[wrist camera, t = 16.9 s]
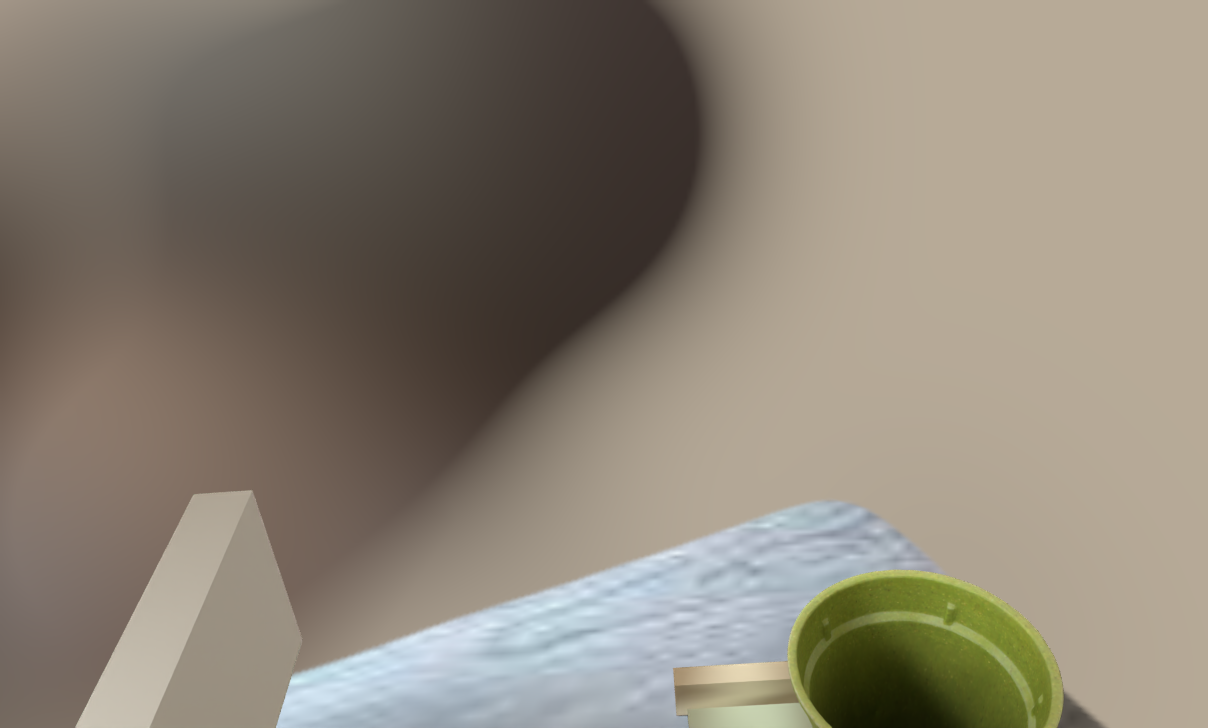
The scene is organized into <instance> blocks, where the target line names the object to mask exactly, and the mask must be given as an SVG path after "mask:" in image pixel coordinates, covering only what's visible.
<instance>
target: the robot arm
mask: <svg viewBox="0 0 1208 728" xmlns="http://www.w3.org/2000/svg"><path fill="white" fill-rule="evenodd" d="M301 643H302V637H301V634H300V631H299V628H298V625H297V622H296V619H295V616H294V613H293V610H292V607H291V604H290V601H289V598H288V595H287V592H286V589H285V586H284V583H283V580H282V578H281V574H280V571H279V569H278V565H277V562H276V559H275V557H274V553H273V550H272V547H271V545H270V542H269V539H268V536H267V533H266V530H265V527H264V524H263V521H262V518H261V515H260V512H259V509H258V506H257V503H256V500H255V497H254V494H253V491H252V490H249V491H235V492H221V493H207V494H194V495H193V497H192V499H191V501H190V503H189V505H188V507H187V508H186V510H185V513H184V514H183V516H182V518H181V521H180V522H179V524H178V526H177V528H176V530H175V532H174V534H173V536H172V538H171V540H170V542H169V544H168V546H167V548H166V550H165V552H164V554H163V556H162V558H161V560H160V562H159V564H158V566H157V568H156V570H155V572H154V574H153V576H152V577H151V579H150V581H149V583H148V585H147V587H146V589H145V591H144V593H143V595H142V597H141V599H140V601H139V603H138V605H137V607H136V609H135V611H134V613H133V615H132V617H131V619H130V621H129V623H128V625H127V627H126V629H125V631H124V633H123V635H122V637H121V639H120V641H119V643H118V644H117V646H116V648H115V650H114V653H113V654H112V657H111V658H110V660H109V662H108V664H107V666H106V668H105V670H104V672H103V674H102V676H101V678H100V680H99V682H98V684H97V686H96V688H95V690H94V692H93V694H92V696H91V698H90V700H89V702H88V704H87V706H86V708H85V709H84V712H83V713H82V715H81V717H80V720H79V721H78V723H77V725H76V727H75V728H276V725H277V722H278V718H279V715H280V712H281V709H282V705H283V702H284V699H285V695H286V692H287V689H288V686H289V682H290V679H291V676H292V673H293V669H294V666H295V663H296V660H297V656H298V653H299V650H300V646H301Z"/></svg>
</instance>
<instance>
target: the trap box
mask: <svg viewBox="0 0 1208 728" xmlns="http://www.w3.org/2000/svg"><path fill="white" fill-rule="evenodd" d="M673 671H674V686H675V701H676V713H677V716H680V715H688V724H689V728H812V724H811V722H810V721H809V718H808V716H807V715H806V713H805V712H804V710H803V708H802V707H801V705H800V703H799V701H798V699H797V697H796V694H795V692H794V690H793V687H792V683H791V680H790V675H789V669H788V661H783V662H766V663H749V664H732V665H716V666H699V667H682V668H673Z"/></svg>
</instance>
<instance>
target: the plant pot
mask: <svg viewBox="0 0 1208 728" xmlns="http://www.w3.org/2000/svg"><path fill="white" fill-rule="evenodd" d="M787 655H788V669H789V675H790V680H791V683H792V687H793V690H794V692H795V694H796V697H797V699H798V701H799V703H800V705H801V707H802V708H803V710H804V712H805V713H806V715H807V716H808V718H809V721H810V722H811V724H812V728H1057V727H1058V724H1059V721H1060V718H1061V714H1062V709H1063V694H1064V693H1063V684H1062V678H1061V675H1060V671H1059V668H1058V665H1057V662H1056V659H1055V657H1054V655H1053V653H1052V652H1051V650H1050V648H1049V647H1048V645H1047V644H1046V642H1045V640H1044V639H1043V637H1042V636H1041V634H1040V633H1039V631H1038V630H1037V629H1035V627H1034V626H1033V625H1032V624H1031V623H1030V622H1029V621H1028V620H1027V619H1026V618H1024V616H1023V615H1022V614H1020V613H1019V612H1018V611H1017V610H1015V609H1014V608H1012V607H1011V606H1010V605H1008V604H1007V603H1006V602H1004V601H1003V600H1001V599H999V598H998V597H996V596H994V595H993V594H991V593H989V592H987V591H985V590H984V589H982V588H980V587H977V586H975V585H973V584H970V583H968V582H965V581H962V580H959V579H956V578H953V577H950V576H946V575H942V574H937V573H932V572H924V571H915V570H887V571H875V572H870V573H865V574H860V575H857V576H853V577H851V578H848V579H845V580H843V581H840V582H838V583H836V584H834V585H832V586H830V587H828V588H827V589H825V590H824V591H822V592H821V593H819V594H818V595H817V596H816V597H815V598H814V599H812V600H811V601H810V602H809V603H808V604H807V605H806V606H805V608H804V609H803V610H802V611H801V613H800V614H799V616H798V618H797V620H796V622H795V624H794V626H793V628H792V631H791V633H790V637H789V643H788V654H787Z"/></svg>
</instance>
